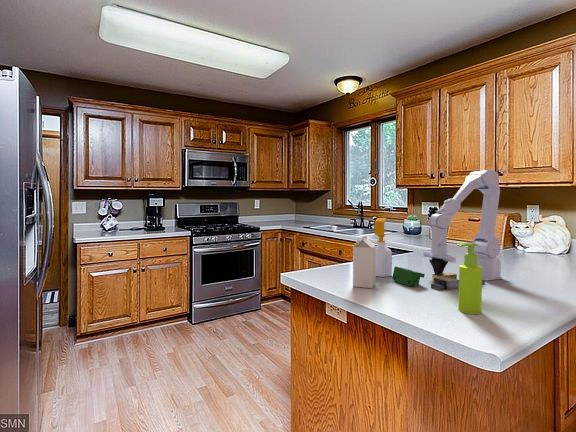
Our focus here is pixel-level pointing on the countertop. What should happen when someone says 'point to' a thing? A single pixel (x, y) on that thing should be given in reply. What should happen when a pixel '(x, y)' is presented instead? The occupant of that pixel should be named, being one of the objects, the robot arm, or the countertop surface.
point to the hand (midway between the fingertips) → (438, 277)
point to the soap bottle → (382, 251)
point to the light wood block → (444, 276)
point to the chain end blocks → (446, 284)
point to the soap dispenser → (470, 282)
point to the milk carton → (364, 263)
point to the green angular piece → (406, 276)
